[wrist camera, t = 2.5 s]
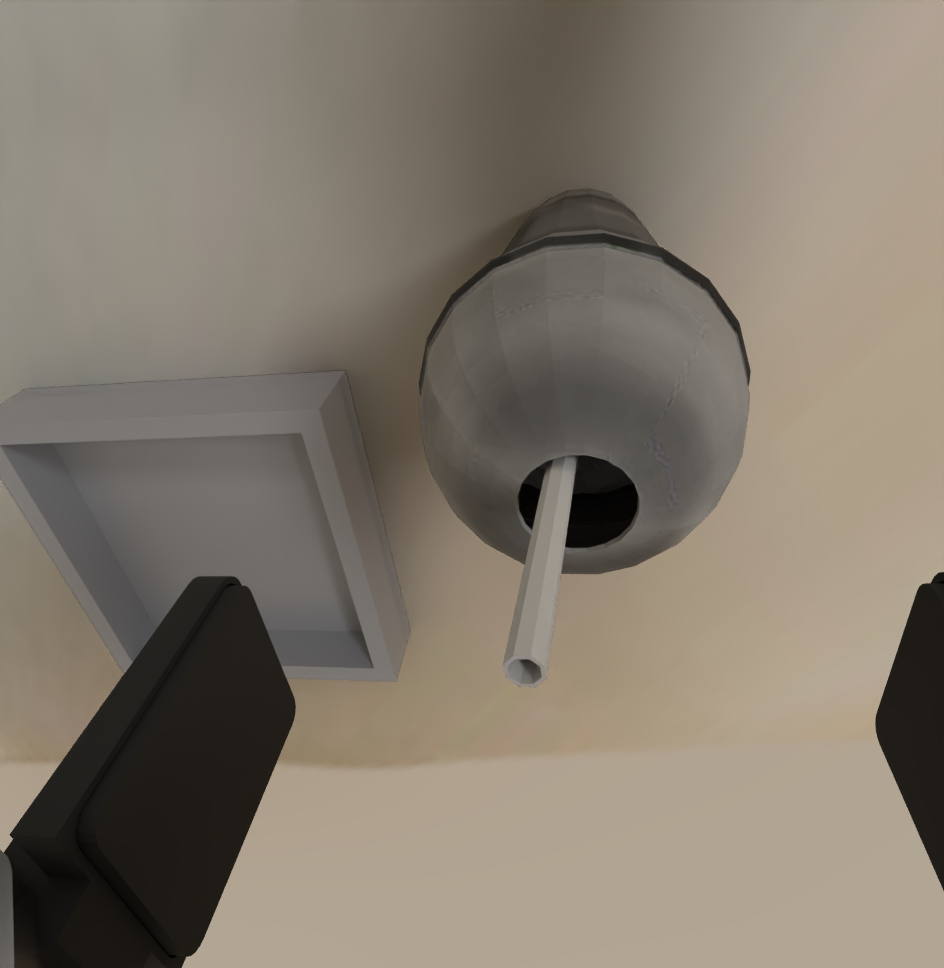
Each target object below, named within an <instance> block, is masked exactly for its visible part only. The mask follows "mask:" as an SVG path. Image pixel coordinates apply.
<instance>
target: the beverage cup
mask: <svg viewBox="0 0 944 968" xmlns="http://www.w3.org/2000/svg"><path fill="white" fill-rule="evenodd" d="M749 380H750V367H749V362H748V358H747V354H746V350H745V345H744V341H743V337H742V332H741V328H740V324H739V321H738V320H737V319H736V317H735V316H734V314H733V313H732V311H731V310H730V309H729V307H728V306H727V304H726V303H725V301H724V300H723V299H722V297H721V296H720V294H719V293H718V291H717V290H716V289H715V287H714V286H713V284H712V283H711V281H710V280H709V279H708V278H706V277H705V276H703V275H702V274H701V273H699V272H698V271H696V270H695V269H693V268H692V267H690V266H689V265H687V264H686V263H684V262H683V261H681V260H680V259H678V258H677V257H675V256H674V255H672V254H671V253H669V252H668V251H667V250H665V249H664V248H662V247H659V245H658V244H657V243H656V242H655V240H654V239H653V238H652V236H651V235H650V234H649V232H648V231H647V230H646V228H645V227H644V226H643V224H642V223H641V222H640V220H639V219H638V218H637V216H636V215H635V214H634V212H633V211H632V210H630V209H629V208H627V207H626V206H625V205H624V204H623V203H621V202H620V201H618V200H617V199H615V198H614V197H612V196H611V195H610V194H607V193H603V192H599V191H595V190H592V189H581V190H569V191H566V192H564V193H562V194H559V195H557V196H555V197H552V198H550V199H549V200H547V201H546V202H545V203H544V204H543V205H542V206H541V207H539V208H538V209H537V210H536V211H535V212H534V213H533V214H532V215H531V216H530V217H529V218H527V219H526V221H525V222H524V224H523V225H522V226H521V228H520V229H519V231H518V232H517V234H516V235H515V236H514V238H513V239H512V241H511V242H510V244H509V245H508V246H507V248H506V249H505V251H504V252H503V254H502V255H501V256H500V257H497V258H495V259H492V260H491V261H490V262H489V263H488V264H487V265H486V266H484V267H483V268H482V269H481V270H480V271H479V272H478V273H476V274H475V275H474V276H473V277H472V278H471V279H469V280H468V281H467V282H466V283H465V284H464V285H463V286H461V287H460V288H459V289H458V290H457V291H456V292H455V293H453V294H452V295H451V297H450V299H449V301H448V302H447V304H446V306H445V308H444V309H443V311H442V313H441V315H440V316H439V318H438V320H437V322H436V323H435V325H434V327H433V329H432V330H431V332H430V334H429V336H428V337H427V342H426V347H425V353H424V358H423V364H422V369H421V375H420V381H419V389H420V396H421V397H420V403H419V414H420V423H421V429H422V435H423V441H424V447H425V452H426V458H427V462H428V465H429V468H430V471H431V473H432V475H433V477H434V479H435V480H436V482H437V484H438V486H439V488H440V489H441V491H442V493H443V495H444V497H445V498H446V500H447V502H448V504H449V506H450V507H451V509H452V510H453V511H454V513H455V514H456V515H457V517H458V518H459V519H460V520H462V521H463V522H464V523H465V524H466V525H467V526H468V527H469V528H470V529H471V530H472V531H473V532H474V533H475V534H476V535H477V536H478V537H479V538H480V539H481V540H482V541H483V542H485V543H486V544H488V545H489V546H491V547H493V548H495V549H497V550H498V551H500V552H502V553H504V554H506V555H508V556H510V557H511V558H513V559H515V560H517V561H519V562H521V563H523V564H525V566H524V571H523V575H522V580H521V584H520V589H519V593H518V598H517V603H516V607H515V612H514V616H513V621H512V626H511V630H510V635H509V639H508V644H507V648H506V653H505V658H504V662H503V668H504V673H505V678H507V679H508V680H510V681H511V682H513V683H514V684H516V685H517V686H518V687H537V686H538V685H539V684H540V683H541V682H543V681H544V680H545V679H546V677H547V670H548V663H549V656H550V649H551V642H552V635H553V628H554V620H555V613H556V606H557V599H558V592H559V585H560V578H561V574H601V573H606V572H610V571H614V570H619V569H623V568H628V567H632V566H636V565H638V564H640V563H642V562H644V561H646V560H647V559H649V558H651V557H653V556H655V555H657V554H659V553H661V552H663V551H665V550H667V549H669V548H671V547H673V546H675V545H677V544H678V543H679V542H681V541H682V540H683V539H684V538H685V537H686V536H687V535H688V534H689V533H690V532H691V531H692V530H693V529H694V528H696V527H697V526H698V525H699V524H700V523H701V522H702V521H703V520H704V519H705V518H706V517H707V516H708V515H709V514H710V513H711V512H712V510H713V509H714V508H715V507H716V506H717V504H718V502H719V500H720V498H721V496H722V495H723V493H724V491H725V489H726V487H727V486H728V484H729V482H730V480H731V478H732V476H733V475H734V473H735V471H736V469H737V467H738V464H739V462H740V459H741V457H742V454H743V447H744V440H745V433H746V427H747V420H748V413H749V402H750V392H749V388H748V387H749Z"/></svg>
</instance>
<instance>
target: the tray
mask: <svg viewBox="0 0 944 968" xmlns="http://www.w3.org/2000/svg"><path fill="white" fill-rule="evenodd" d="M0 478H1V480H2V482H3V483H4V485H5V486H6V488H7V490H8V491H9V493H10V494H11V496H12V497H13V499H14V501H15V502H16V504H17V505H18V507H19V509H20V510H21V512H22V513H23V515H24V516H25V518H26V520H27V521H28V523H29V524H30V526H31V528H32V529H33V531H34V532H35V534H36V536H37V537H38V539H39V540H40V542H41V543H42V545H43V547H44V548H45V550H46V551H47V553H48V555H49V556H50V558H51V559H52V561H53V562H54V564H55V566H56V567H57V569H58V570H59V572H60V574H61V575H62V577H63V578H64V580H65V581H66V583H67V585H68V586H69V588H70V589H71V591H72V593H73V594H74V596H75V597H76V599H77V601H78V602H79V604H80V605H81V607H82V608H83V610H84V612H85V613H86V615H87V616H88V618H89V620H90V621H91V623H92V624H93V626H94V627H95V629H96V631H97V632H98V634H99V635H100V637H101V639H102V640H103V642H104V643H105V645H106V646H107V648H108V650H109V651H110V653H111V654H112V656H113V658H114V659H115V661H116V662H117V664H118V666H119V667H120V669H121V670H122V672H123V673H125V672H126V671H127V670H128V668H129V667H130V665H131V664H132V663H133V661H134V660H135V658H136V657H137V656H138V654H139V653H140V651H141V650H142V649H143V647H144V646H145V644H146V643H147V641H148V640H149V639H150V637H151V636H152V634H153V633H154V632H155V630H156V629H157V627H158V626H159V625H160V623H161V622H162V620H163V619H164V618H165V616H166V615H167V613H168V612H169V611H170V609H171V608H172V606H173V605H174V604H175V602H176V601H177V599H178V598H179V597H180V595H181V594H182V592H183V591H184V590H185V588H186V587H187V585H188V584H189V583H190V582H191V581H192V580H193V579H194V578H196V577H198V576H234V577H236V578H237V579H238V580H239V581H240V583H241V584H242V586H247V587H248V588H249V589H250V590H251V592H252V595H253V597H254V600H255V602H256V604H257V607H258V609H259V612H260V614H261V617H262V619H263V622H264V624H265V627H266V629H267V632H268V634H269V637H270V639H271V642H272V644H273V647H274V649H275V652H276V654H277V656H278V659H279V661H280V664H281V666H282V669H283V671H284V674H285V676H286V678H293V679H324V680H356V681H387V682H396V681H397V678H398V674H399V670H400V667H401V663H402V660H403V656H404V653H405V649H406V646H407V642H408V638H409V635H410V627H409V623H408V619H407V615H406V611H405V607H404V603H403V599H402V595H401V591H400V587H399V583H398V579H397V575H396V571H395V567H394V563H393V559H392V555H391V551H390V547H389V543H388V539H387V535H386V531H385V527H384V523H383V519H382V515H381V511H380V507H379V503H378V499H377V495H376V491H375V487H374V483H373V479H372V475H371V471H370V467H369V463H368V459H367V455H366V451H365V447H364V443H363V439H362V435H361V431H360V427H359V423H358V419H357V415H356V411H355V407H354V403H353V399H352V395H351V391H350V387H349V383H348V379H347V375H346V371H345V370H344V371H327V372H309V373H292V374H275V375H258V376H240V377H223V378H206V379H189V380H171V381H154V382H137V383H120V384H102V385H85V386H68V387H50V388H33V389H23V390H21V391H20V392H18V393H17V394H15V395H14V396H12V397H11V398H9V399H8V400H6V401H5V402H3V403H2V404H0Z"/></svg>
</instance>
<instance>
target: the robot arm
mask: <svg viewBox="0 0 944 968" xmlns="http://www.w3.org/2000/svg"><path fill="white" fill-rule="evenodd" d="M295 708H296V706H295V699H294V696H293V694H292V691H291V689H290V686H289V684H288V681H287V679H286V676H285V674H284V671H283V669H282V666H281V664H280V661H279V659H278V656H277V654H276V652H275V649H274V647H273V644H272V642H271V639H270V637H269V634H268V632H267V629H266V627H265V624H264V622H263V619H262V617H261V614H260V612H259V609H258V607H257V604H256V602H255V600H254V597H253V595H252V592H251V590H250V589H249V588H248V587H247V586H242V584H241V583H240V581H239V580H238V579H237V578H236V577H234V576H198V577H196V578H194V579H193V580H192V581H191V582H190V583H189V584H188V585H187V587H186V588H185V590H184V591H183V592H182V594H181V595H180V597H179V598H178V599H177V601H176V602H175V604H174V605H173V606H172V608H171V609H170V611H169V612H168V613H167V615H166V616H165V618H164V619H163V620H162V622H161V623H160V625H159V626H158V627H157V629H156V630H155V632H154V633H153V634H152V636H151V637H150V639H149V640H148V641H147V643H146V644H145V646H144V647H143V649H142V650H141V651H140V653H139V654H138V656H137V657H136V658H135V660H134V661H133V663H132V664H131V665H130V667H129V668H128V670H127V671H126V672H125V674H124V675H123V677H122V678H121V679H120V681H119V682H118V684H117V685H116V686H115V688H114V689H113V691H112V692H111V693H110V695H109V696H108V698H107V699H106V700H105V702H104V703H103V705H102V706H101V707H100V709H99V710H98V712H97V713H96V714H95V716H94V717H93V719H92V720H91V721H90V723H89V724H88V726H87V727H86V728H85V730H84V731H83V733H82V734H81V735H80V737H79V738H78V740H77V741H76V742H75V744H74V745H73V747H72V748H71V749H70V751H69V752H68V754H67V755H66V756H65V758H64V759H63V761H62V762H61V763H60V765H59V766H58V768H57V769H56V770H55V772H54V773H53V775H52V776H51V778H50V779H49V780H48V782H47V783H46V785H45V786H44V787H43V789H42V790H41V792H40V793H39V794H38V796H37V797H36V799H35V800H34V801H33V803H32V804H31V805H30V807H29V808H28V810H27V811H26V812H25V814H24V815H23V817H22V818H21V819H20V821H19V822H18V824H17V825H16V826H15V828H14V829H13V831H12V832H11V833H10V836H11V837H12V838H13V840H12V842H11V843H10V845H9V846H8V847H7V849H6V850H5V852H4V853H3V852H2V851H1V850H0V968H182V965H183V963H184V961H185V958H186V957H188V956H191V955H193V954H194V953H195V952H196V951H197V949H198V947H200V945H201V943H202V941H203V939H204V937H205V934H206V931H207V929H208V927H209V924H210V922H211V920H212V917H213V915H214V912H215V910H216V908H217V905H218V902H219V900H220V898H221V895H222V893H223V890H224V888H225V886H226V883H227V881H228V879H229V876H230V873H231V871H232V869H233V866H234V864H235V862H236V859H237V857H238V854H239V852H240V849H241V847H242V845H243V842H244V840H245V837H246V835H247V832H248V830H249V828H250V825H251V823H252V820H253V818H254V816H255V813H256V811H257V808H258V806H259V804H260V801H261V799H262V796H263V794H264V792H265V789H266V787H267V784H268V782H269V779H270V777H271V775H272V772H273V770H274V767H275V765H276V763H277V760H278V758H279V755H280V753H281V750H282V748H283V746H284V743H285V741H286V738H287V736H288V734H289V731H290V729H291V726H292V724H293V721H294V717H295ZM876 733H877V737H878V741H879V743H880V746H881V748H882V751H883V753H884V755H885V757H886V760H887V762H888V764H889V767H890V769H891V771H892V773H893V775H894V778H895V780H896V782H897V785H898V787H899V789H900V792H901V794H902V796H903V799H904V801H905V803H906V806H907V808H908V810H909V812H910V815H911V817H912V819H913V821H914V824H915V826H916V828H917V831H918V833H919V835H920V838H921V840H922V842H923V844H924V847H925V849H926V851H927V854H928V856H929V858H930V860H931V863H932V865H933V867H934V870H935V872H936V874H937V876H938V879H939V881H940V883H941V886H942V888H943V890H944V572H941V573H938V574H937V575H935V576H934V578H933V580H932V582H931V583H926V584H922V585H921V586H920V587H919V589H918V591H917V593H916V596H915V599H914V602H913V605H912V608H911V611H910V614H909V617H908V620H907V623H906V626H905V629H904V632H903V635H902V639H901V642H900V645H899V648H898V651H897V654H896V657H895V660H894V663H893V666H892V669H891V672H890V675H889V678H888V681H887V684H886V687H885V690H884V693H883V696H882V699H881V702H880V705H879V708H878V711H877V714H876Z"/></svg>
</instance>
